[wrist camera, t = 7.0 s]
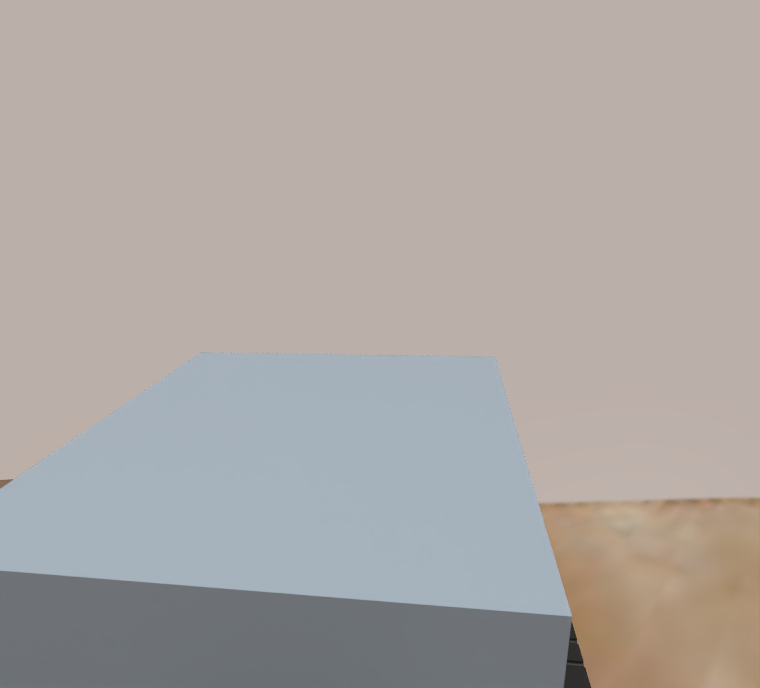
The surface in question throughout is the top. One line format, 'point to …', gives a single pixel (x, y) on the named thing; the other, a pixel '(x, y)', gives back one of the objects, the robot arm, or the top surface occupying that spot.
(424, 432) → the slate block
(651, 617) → the top surface
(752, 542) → the top surface
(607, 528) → the top surface
